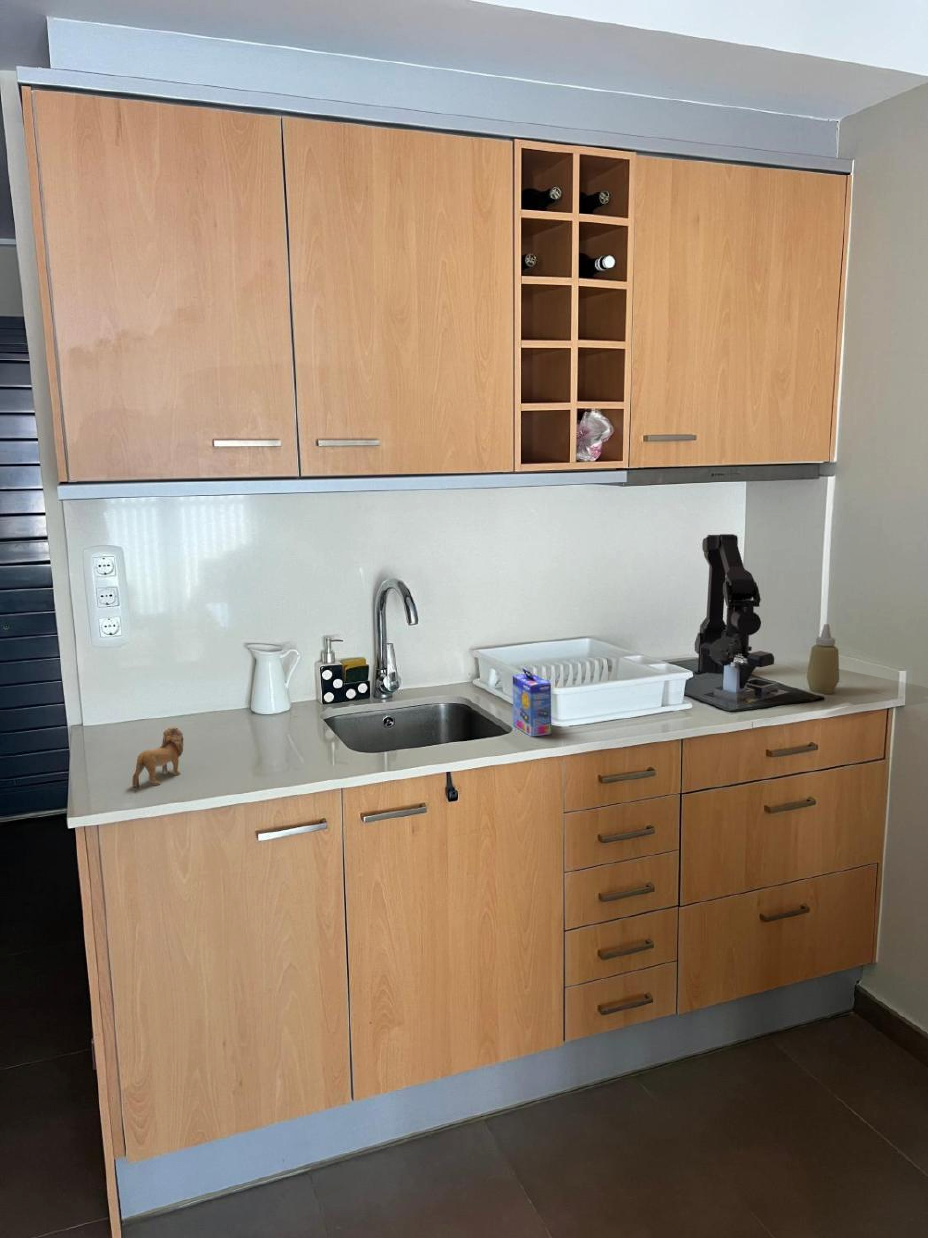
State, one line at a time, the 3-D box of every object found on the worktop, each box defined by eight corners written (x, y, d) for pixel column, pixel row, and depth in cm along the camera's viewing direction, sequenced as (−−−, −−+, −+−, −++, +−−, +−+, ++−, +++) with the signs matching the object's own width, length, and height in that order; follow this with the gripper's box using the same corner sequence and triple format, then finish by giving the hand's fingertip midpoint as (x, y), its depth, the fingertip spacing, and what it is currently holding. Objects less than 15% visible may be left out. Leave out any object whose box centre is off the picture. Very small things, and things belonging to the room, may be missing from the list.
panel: (702, 698, 241) (702, 687, 241) (750, 686, 253) (750, 675, 253) (741, 709, 232) (741, 697, 231) (789, 695, 244) (790, 684, 243)
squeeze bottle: (798, 689, 249) (803, 623, 246) (821, 686, 253) (826, 620, 249) (821, 697, 242) (826, 628, 239) (845, 693, 246) (850, 626, 242)
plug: (722, 696, 240) (724, 661, 238) (732, 693, 242) (734, 659, 241) (735, 699, 237) (737, 664, 235) (745, 696, 239) (747, 662, 237)
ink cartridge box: (511, 725, 220) (511, 665, 217) (532, 722, 222) (532, 662, 219) (530, 737, 211) (531, 675, 208) (552, 734, 213) (553, 672, 210)
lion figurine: (169, 765, 194) (166, 723, 192) (192, 768, 192) (189, 725, 190) (125, 791, 180) (121, 746, 178) (149, 794, 178) (146, 748, 177)
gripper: (687, 624, 239) (684, 684, 242) (749, 637, 224) (745, 700, 227) (715, 619, 245) (712, 677, 248) (777, 631, 231) (773, 692, 234)
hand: (734, 686), depth 239 cm, fingers closed on plug, 4 cm apart
